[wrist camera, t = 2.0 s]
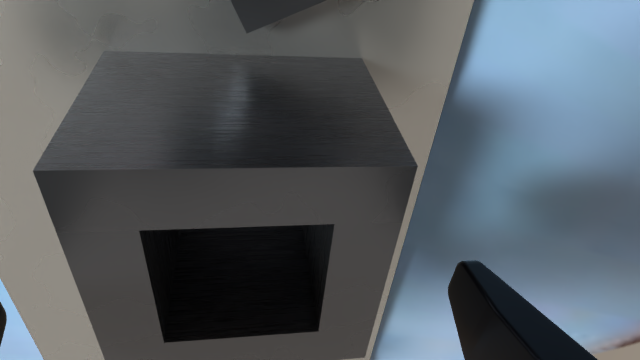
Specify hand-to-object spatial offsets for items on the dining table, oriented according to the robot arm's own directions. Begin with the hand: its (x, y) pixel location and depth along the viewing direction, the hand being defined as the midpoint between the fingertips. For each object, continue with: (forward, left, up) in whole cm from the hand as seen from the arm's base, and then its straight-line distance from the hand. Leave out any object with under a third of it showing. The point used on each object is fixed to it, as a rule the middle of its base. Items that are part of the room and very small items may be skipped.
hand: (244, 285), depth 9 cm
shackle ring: (0, 0, -4) cm, 5 cm away
